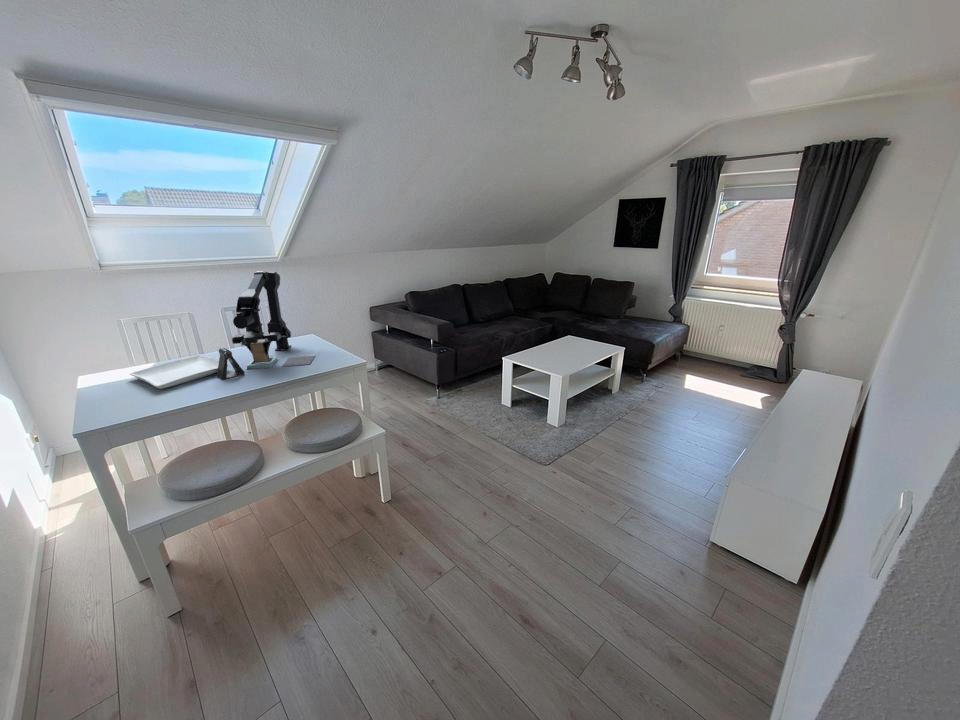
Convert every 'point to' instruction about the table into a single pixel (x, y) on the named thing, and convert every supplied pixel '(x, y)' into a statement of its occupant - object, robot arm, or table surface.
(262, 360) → the oak block
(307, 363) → the pad
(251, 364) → the pocket frame
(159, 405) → the table surface
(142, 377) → the square plate
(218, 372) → the phone stand
